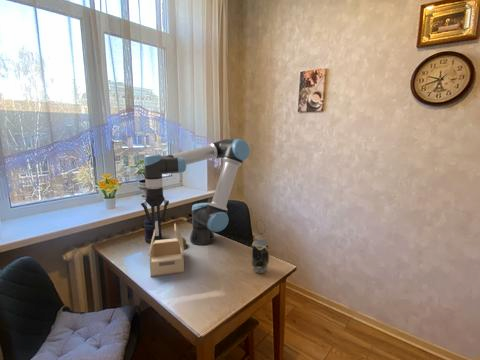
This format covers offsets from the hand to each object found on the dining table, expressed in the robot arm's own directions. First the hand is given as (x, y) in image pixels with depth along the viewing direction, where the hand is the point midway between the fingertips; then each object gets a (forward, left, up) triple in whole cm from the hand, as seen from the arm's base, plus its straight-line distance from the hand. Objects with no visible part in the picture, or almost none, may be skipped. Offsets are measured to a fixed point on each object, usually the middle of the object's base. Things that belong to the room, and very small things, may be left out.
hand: (157, 234), depth 121 cm
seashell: (-8, -17, -17) cm, 25 cm away
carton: (-4, 0, -17) cm, 17 cm away
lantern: (-48, +16, -17) cm, 53 cm away
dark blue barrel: (+4, -31, -17) cm, 36 cm away
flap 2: (-12, 0, -7) cm, 14 cm away
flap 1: (+4, 0, -7) cm, 8 cm away
